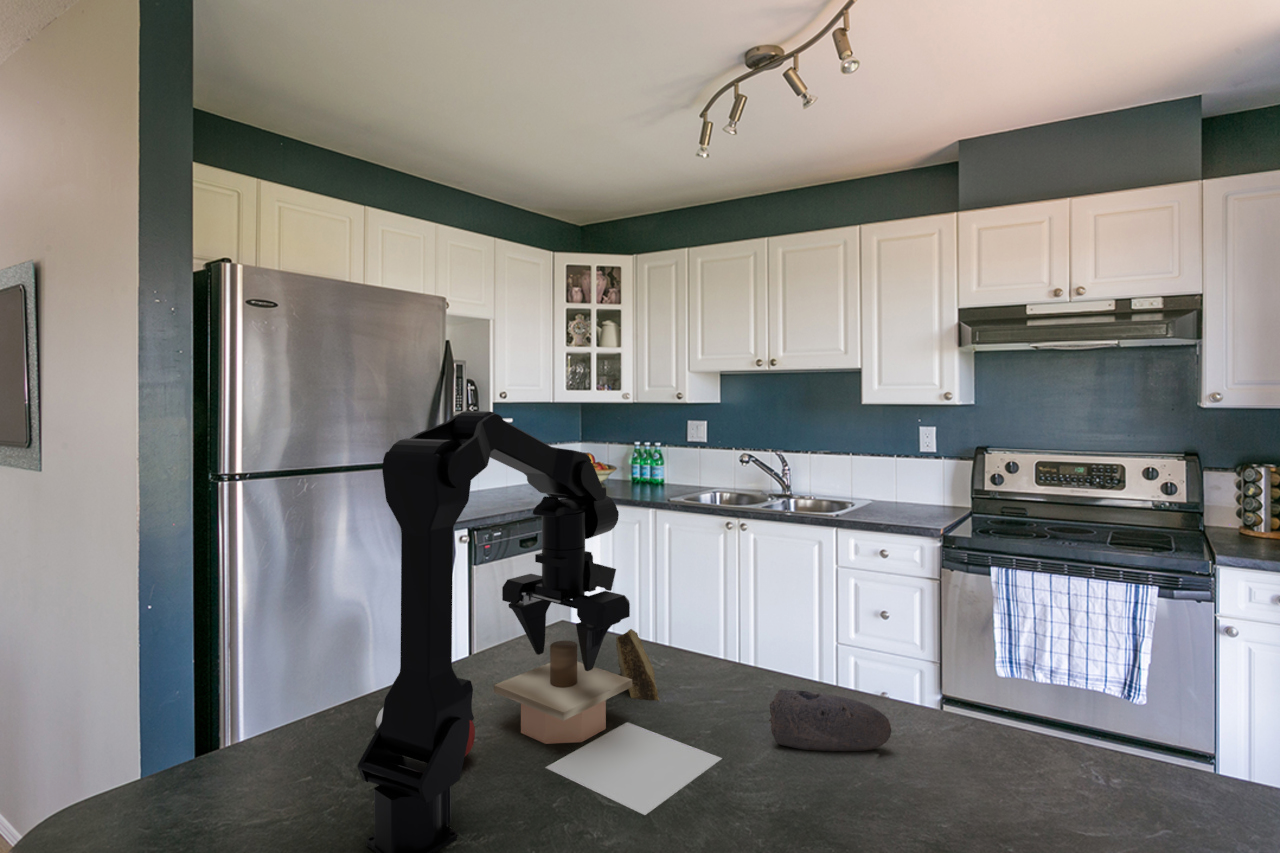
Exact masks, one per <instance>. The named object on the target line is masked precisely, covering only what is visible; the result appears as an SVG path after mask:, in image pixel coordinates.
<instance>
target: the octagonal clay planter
mask: <svg viewBox="0 0 1280 853" xmlns="http://www.w3.org/2000/svg"><path fill="white" fill-rule="evenodd" d="M606 705H607V700H605V701H603V702H601V703H599V704H597V705H595V706H593V707H591V708H589V709H587V710H584V711H582V712H580V713H578V714H576V715H574V716H572V717H570V718H568V719H566V720H564V721H563V720H561V719H558V718H556V717H553V716H551V715H548V714H546V713H543V712H541V711H539V710H536V709H534V708H531V707H529V706H526V705H524V704H521V703H520V734H523V735H524V736H527V737H529V738H531V739H534V740H536V741H538V742H540V743H543V744H545V745H546V744H548V745H549V744H551V745H552V744H570V743H572V744H573V743H583V742H584V741H587V740H588V739H590V738H592V737H593V736H596V735H597V734H599V733H600V732H603V731H605V730H606V729H607V727H606V726H607V724H606V723H607V721H606V720H607V718H606V715H607V709H606V708H607V706H606Z"/></svg>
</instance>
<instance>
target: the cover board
mask: <svg viewBox="0 0 1280 853" xmlns="http://www.w3.org/2000/svg"><path fill="white" fill-rule="evenodd" d="M549 648H550V650H549V655H550V656H549V657H550V658H549V659H550V661H549V662H548V663H546V664H543V665H541V666H540V665H539V666H538V667H535V668H533V669H531V670H528V671H525V672H523V673H520V674H518V675H516V676H512V677H511V678H508V679H505V680H503V681H500V682H498V683H495V684H493V693H495V694H497V695H500V696H502V697H504V698H507V699H509V700H512V701H514V702H517V703H519V704H520V705H521V704H524V705H526V706H529V707H531V708H534V709H536V710H539V711H541V712H543V713H546V714H548V715H551V716H553V717H556V718H558V719H561V720H563V721H564V720H566V719H568V718H570V717H572V716H574V715H576V714H578V713H580V712H582V711H584V710H587V709H589V708H591V707H593V706H595V705H597V704H599V703H601V702H603V701H605V700H606V701H607V700H609V699H610V698H612V697H614V696H616V695H619V694H621V693H623V692H624V691H627V690H628V689H629V688H631V687H632V679H629V678H626V677H623V676H622V675H621V674H617V673H614V672H611V671H609V670H604V669H601V668H599V667H595V666H594V667H593V669H592V670H590V671H585V668H584V665H583V662H580V661H578V643H577V642H575V641H572V640H557V641H555V642H552V643H550V646H549Z"/></svg>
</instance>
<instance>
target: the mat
mask: <svg viewBox="0 0 1280 853" xmlns="http://www.w3.org/2000/svg"><path fill="white" fill-rule="evenodd" d="M722 759H723V757H720V756H718V755H715V754H712V753H709V752H707V751H705V750H702V749H699V748H696V747H694V746H690V745H688V744H686V743H683V742H681V741H679V740H678V741H677V740H675V739H672V738H670V737H667V736H665V735H662V734H660V733H657V732H653V731H651V730H649V729H646V728H643V727H641V726H639V725H636V724H633V723H632V722H628V721H627V722H625V723H623V724H622V725H619V726H618V727H616V728H614V729H611V730H610V731H608V732H606V733H605V734H603V735H601V736H600V737H597V738H595V739H594V740H593V741H590V742H589V743H587V744H585V745H584V746H582V747H580V748H577V749H576V750H575V751H572V752H571V753H568V754H566V756H563V757H562V758H560V759H558V760H557V761H555V762H553V763H550V764H549V765H547V766H545V767H544V768H545V769H547V770H549V771H551V772H553V773H555V774H557V775H560V776H562V777H564V778H566V779H568V780H570V781H572V782H574V783H577V784H579V785H581V786H583V787H584V788H587V789H588V790H590V791H593V792H595V793H597V794H599V795H601V796H604V797H605V798H608V799H610V800H612V801H614V802H616V803H618V804H620V805H622V806H624V807H627V808H628V809H631V810H632V811H635V812H637V813H639V814H641V815H643V816H646V815H648V814H649V813H650V812H652V811H653V810H654V809H655V808H657V807H659V806H660V805H661V804H663V803H664V802H665V801H667V800H668V799H670V798H671V797H672V796H673V795H675V794H676V793H677V792H679V791H680V790H681V789H683V788H685V787H686V786H687V785H688V784H690V783H691V782H693V781H694V780H696V779H697V778H698V777H699V776H700V775H702V774H703V773H705V772H706V771H707V770H709V769H710V768H712V767H713V766H715V765H716V764H717V763H718V762H720V761H721V760H722Z"/></svg>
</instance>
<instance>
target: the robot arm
mask: <svg viewBox="0 0 1280 853" xmlns="http://www.w3.org/2000/svg"><path fill="white" fill-rule="evenodd" d="M490 458H491V459H493V460H495V461H497V462H499V463H501V464H503V465H505V466H507V467H510V468H512V469H514V470H516V471H518V472H521V473H522V474H524V475H525V476H526V481H527V483H528V484H529V485H530V486H531V487H533V488H534V489H535V490H536V491H538V492H539V493H540V494H545V496H543V498H542V499H541V501H540V502H539V503H538V504H537V505H536V506H535V507H534V508H533V510H532V515H533V516H537V517H538V516H539V517H541V552H540V553H536V554H535V555H534V556H535V557H534V558H535V559H534V560H535V563H539V564H541V575H538V574H535V573H527V574H524V575H519V576H516V577H512V578H508V579H506V581H505V582H504V584H503V586H502V587H501V588H502V594H501V596H502V597H501V598H502V602H507V603H508V608H509V609H511V611H513V614H514V615H515V617H516V618H517V620H518V621H519V623H520V625H521V628H523V631H524V633H525V634H526V637H527V639H528V641H529V642H530V644H531V646H532V648H533V650H534V652H535V654H536V655H538V656H539V655H543V654H544V653H545V644H546V627H547V626H546V623H547V622H546V621H547V612H548V609H549V608H550V605H551V603H552V604H557V605H561V606H564V607H567V608H572V609H576V615H577V618H578V619H579V621H580V622H577V623H575V626H576V632H577V637H578V643H579V650H580V656H581V661H582V663H583V665H584V668H585V671H590V670H592V669H593V667H595V663H596V660H597V657H598V655H599V652H600V650H601V646H602V645H603V642H604V639H605V637H606V634H607V633H608V631H609V629H610V628H611V627H612V626H613V625H616V624H618V623H621V621H622V620H624V619H627V618H629V617H630V615H631V614H630V612H631V609H630V606H631V604H630V600H629V599H628V598H627V596H626V595H624V594H620V593H617V592H612V589H613V586H614V580H615V577H616V571H617V568H614V567H610V566H607V565H604V564H599V563H595V562H594V556H593V553H592V551H587V550H586V540H588V539H589V540H590V539H591V538H593V537H597V536H600V535H602V534H606V533H609V532H610V531H612V530H613V529H614V528H615V526H616V525H617V524H618V520H619V510H618V508H617V505H616V502H614V500H613V499H612V497H609V495H607V487H606V486H605V487H604V486H602V483H601V480H600V478H599V475H598V473H597V471H596V468H595V465H594V464H593V462H592V459H591V457H590V455H588V453H586V452H583V451H579V450H574V449H566V448H561V447H554V446H551V445H549V444H548V443H546V442H544V441H543V440H540V439H538V438H537V437H535V436H533V435H531V434H530V433H528V432H526V431H524V430H522V429H520V428H519V427H517V426H515V425H514V424H512V423H510V422H508V421H506V420H504V418H503V416H501V415H500V414H498V413H496V412H494V411H482V410H481V411H480V410H479V411H477V410H476V411H475V410H473V411H471V410H469V411H468V410H466V411H465V410H464V411H461V412H460V413H458V414H455V415H453V416H452V417H451V418H449V419H448V420H447V421H444V422H442V423H440V424H438V425H434V426H432V427H430V428H428V429H426V430H421V431H420V432H418V433H416V434H414V435H412V436H410V437H409V438H402V439H399V440H398V441H396V442H395V443H394V444H393V445H392V446H391V447H390V449H389V450H388V451H385V453H384V456H383V459H382V460H383V461H382V467H381V468H382V478H383V486H384V494H385V501H386V503H387V505H388V507H389V508H390V510H391V512H392V514H393V516H394V518H395V520H396V521H397V523H398V525H399V527H400V533H401V536H400V537H401V538H400V539H401V542H400V543H401V544H400V547H401V548H400V551H401V554H400V561H401V562H400V571H401V572H400V578H401V579H400V660H399V661H400V665H399V666H400V667H399V673H398V675H397V676H396V678H395V680H394V681H393V683H392V684H391V686H390V688H389V690H388V691H387V693H386V695H385V696H384V702H383V707H384V708H383V707H382V708H383V715H382V722H381V724H380V725H379V727H378V728H377V729H376V730H375V733H374V734H373V736H372V738H371V740H370V741H369V743H368V745H367V748H365V751H364V753H363V754H362V756H361V758H360V760H359V762H358V763H357V769H358V772H359V775H360V777H361V780H362V781H363V782H366V783H372V784H375V785H377V786H375V787H374V788H373V789H374V790H373V794H374V796H373V797H374V798H373V799H374V806H373V807H374V810H373V811H374V834H371V835H370V836H368V837H366V839H365V846H367V847H368V848H369V849H371V850H372V851H373V852H374V853H435V852H437V851H439V850H441V849H442V848H444V847H446V846H448V845H449V844H451V843H453V842H455V841H456V840H457V839H458V832H457V831H456V830H455V829H453V828H452V827H450V825H451V822H452V802H451V801H452V799H451V798H452V796H451V795H452V792H451V791H452V790H451V788H452V786H453V785H455V784H456V783H458V782H459V781H460V779H461V776H462V772H463V766H464V763H465V757H466V756H465V753H466V748H467V743H468V738H469V730H470V720H471V721H474V719H475V718H474V713H473V709H472V702H473V691H474V688H473V685H472V684H473V683H472V681H471V680H470V679H466V678H465V679H464V678H462V677H461V678H460V677H458V676H457V675H456V673H455V671H454V668H453V666H452V662H453V659H452V657H453V653H452V652H453V574H454V573H453V571H454V570H453V565H454V564H453V561H454V559H453V558H454V556H453V554H454V526H455V524H456V523H457V521H458V519H459V517H460V516H461V515H462V512H463V511H464V509H465V508H466V506H467V504H468V503H469V501H470V493H471V484H472V480H473V479H474V478H476V477H477V476H479V474H480V473H481V472H482V471H484V470H485V469H486V468H487V467H488V465H489V462H490ZM546 495H547V496H546ZM597 588H603V589H605V590H603V591H600V592H597V593H594V594H590V595H585V593H587V592H589V593H590V592H591V593H592V592H594V591H596V590H597Z"/></svg>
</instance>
